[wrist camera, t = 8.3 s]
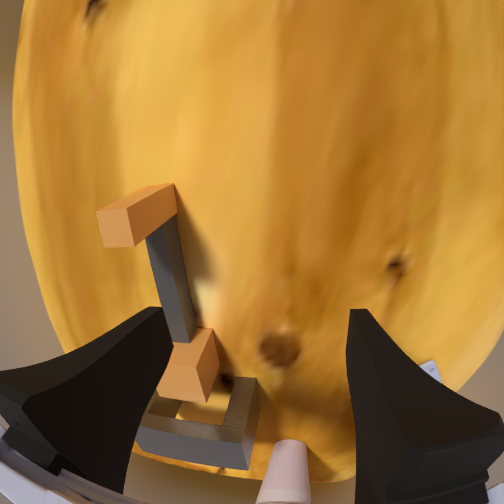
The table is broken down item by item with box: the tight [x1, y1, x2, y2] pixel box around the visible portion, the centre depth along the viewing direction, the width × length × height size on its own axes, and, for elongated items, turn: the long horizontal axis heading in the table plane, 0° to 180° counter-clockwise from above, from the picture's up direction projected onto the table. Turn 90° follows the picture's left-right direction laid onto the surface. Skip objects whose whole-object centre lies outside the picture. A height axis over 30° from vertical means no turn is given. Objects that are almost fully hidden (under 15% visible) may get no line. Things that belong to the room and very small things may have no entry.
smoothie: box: [256, 439, 311, 504], centre depth 23 cm, size 6×6×14 cm
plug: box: [96, 183, 220, 403], centre depth 20 cm, size 16×4×6 cm, turn 5°
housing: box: [135, 377, 260, 470], centre depth 24 cm, size 5×10×7 cm, turn 95°
